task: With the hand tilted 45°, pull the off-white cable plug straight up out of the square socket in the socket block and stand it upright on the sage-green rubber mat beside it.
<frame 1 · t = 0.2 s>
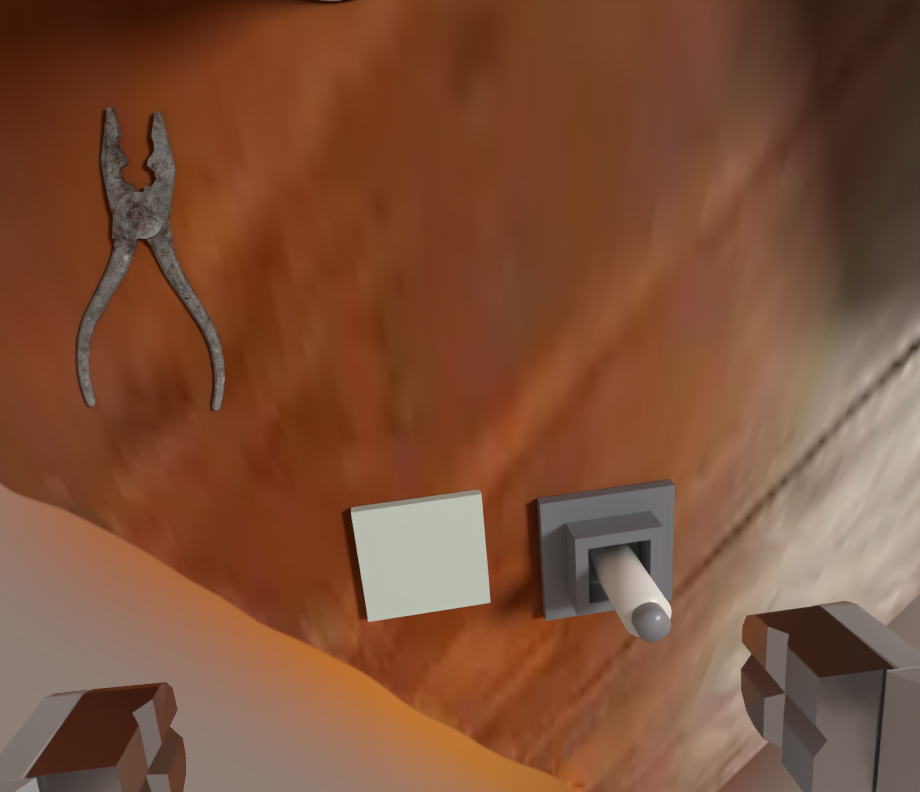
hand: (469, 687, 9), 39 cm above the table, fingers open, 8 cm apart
sage mat: (422, 553, 53), on the table
pliers: (129, 275, 44), on the table
socket block: (604, 547, 55), on the table
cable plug: (608, 554, 54), point 1 cm above the table, touching socket block
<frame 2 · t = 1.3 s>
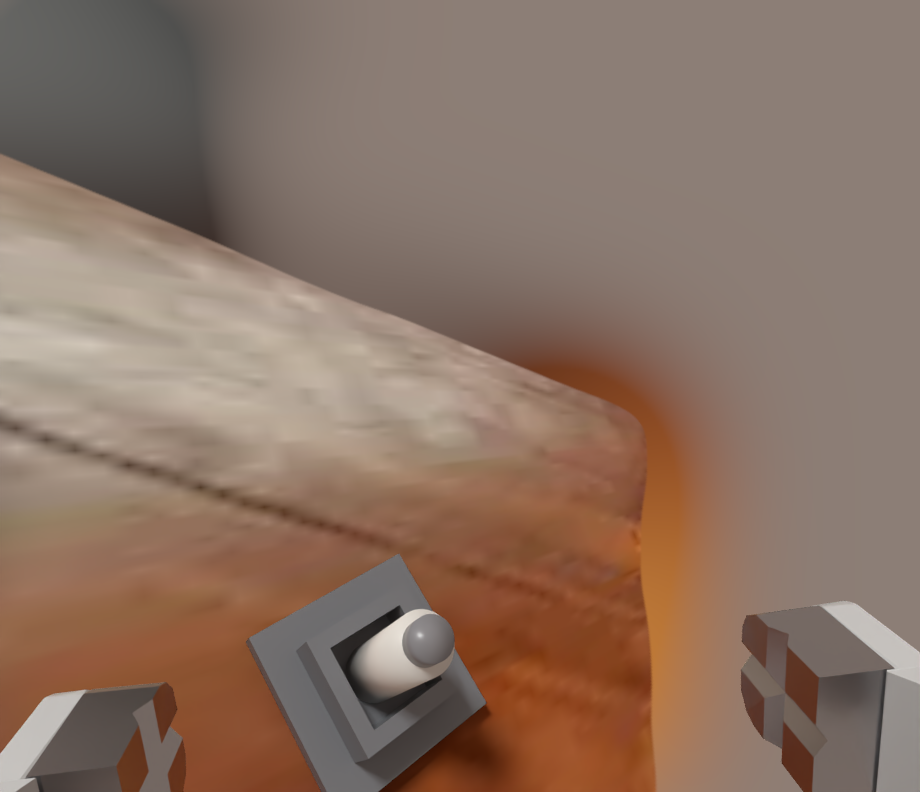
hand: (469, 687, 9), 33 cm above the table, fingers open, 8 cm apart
socket block: (368, 675, 41), on the table
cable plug: (373, 672, 41), point 1 cm above the table, touching socket block
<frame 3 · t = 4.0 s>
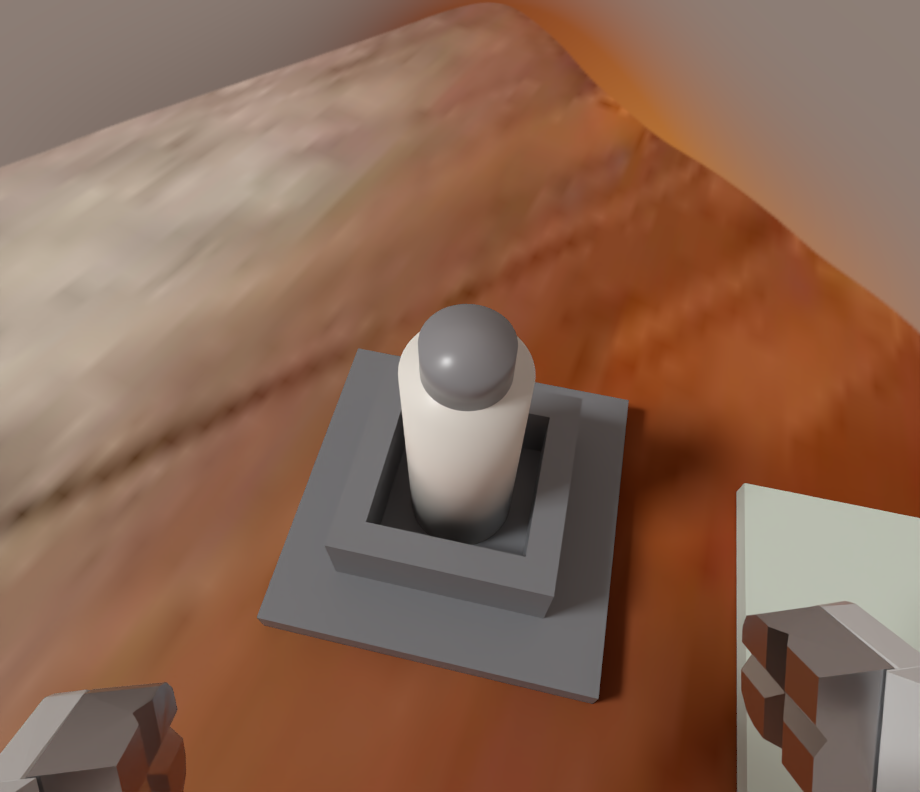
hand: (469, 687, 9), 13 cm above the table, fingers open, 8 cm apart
sage mat: (891, 659, 22), on the table
socket block: (460, 509, 25), on the table
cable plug: (460, 498, 24), point 1 cm above the table, touching socket block
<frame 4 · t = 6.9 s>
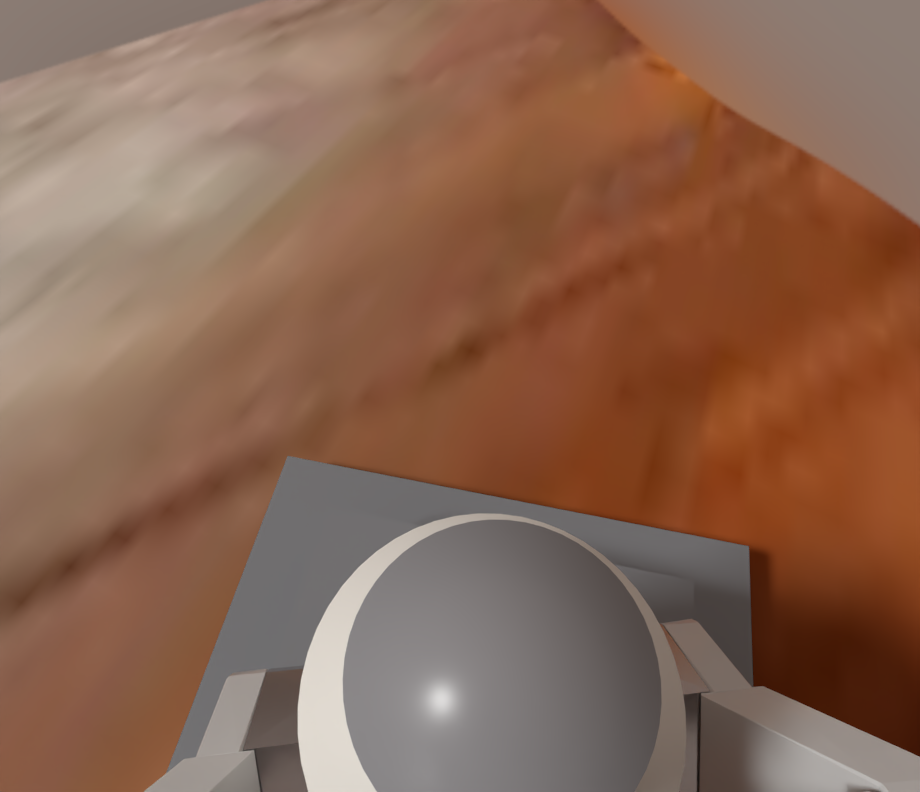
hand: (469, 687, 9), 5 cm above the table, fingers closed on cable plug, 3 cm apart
socket block: (464, 763, 14), on the table
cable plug: (466, 759, 13), point 1 cm above the table, touching socket block, gripper
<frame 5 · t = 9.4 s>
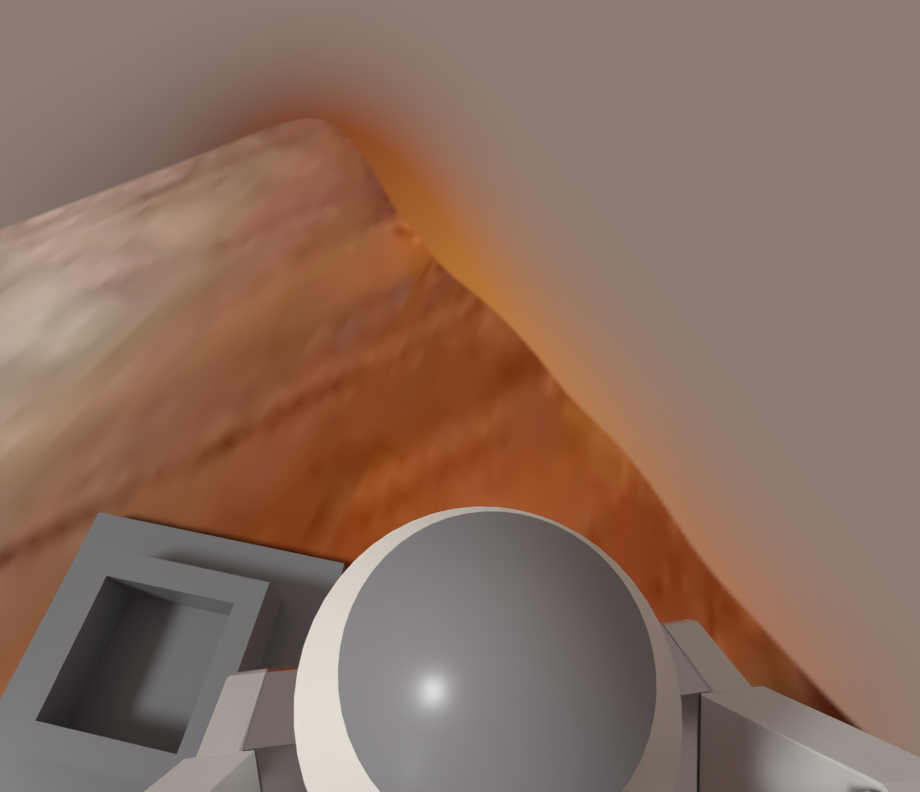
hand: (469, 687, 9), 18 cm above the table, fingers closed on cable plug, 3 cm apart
socket block: (172, 676, 26), on the table
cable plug: (464, 755, 13), point 14 cm above the table, touching gripper
when the fingers open (7 cm above the table, at t = 12.3 s): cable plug drops 1 cm, resting on sage mat.
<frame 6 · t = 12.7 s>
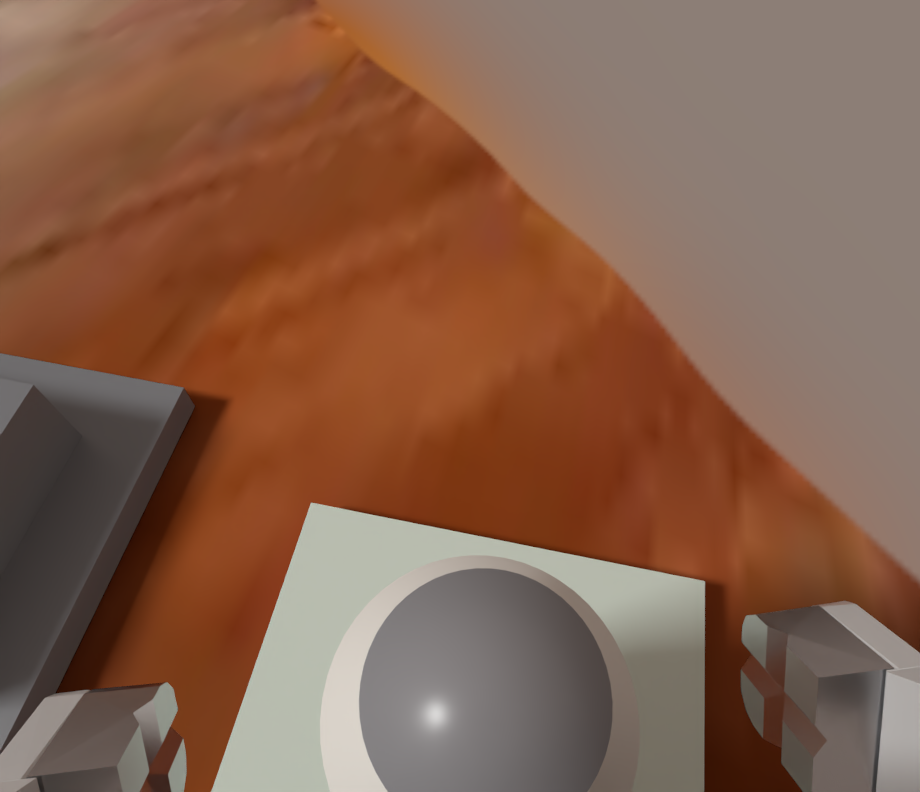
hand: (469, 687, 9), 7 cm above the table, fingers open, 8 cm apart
sage mat: (463, 766, 15), on the table
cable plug: (462, 761, 14), point 1 cm above the table, touching sage mat
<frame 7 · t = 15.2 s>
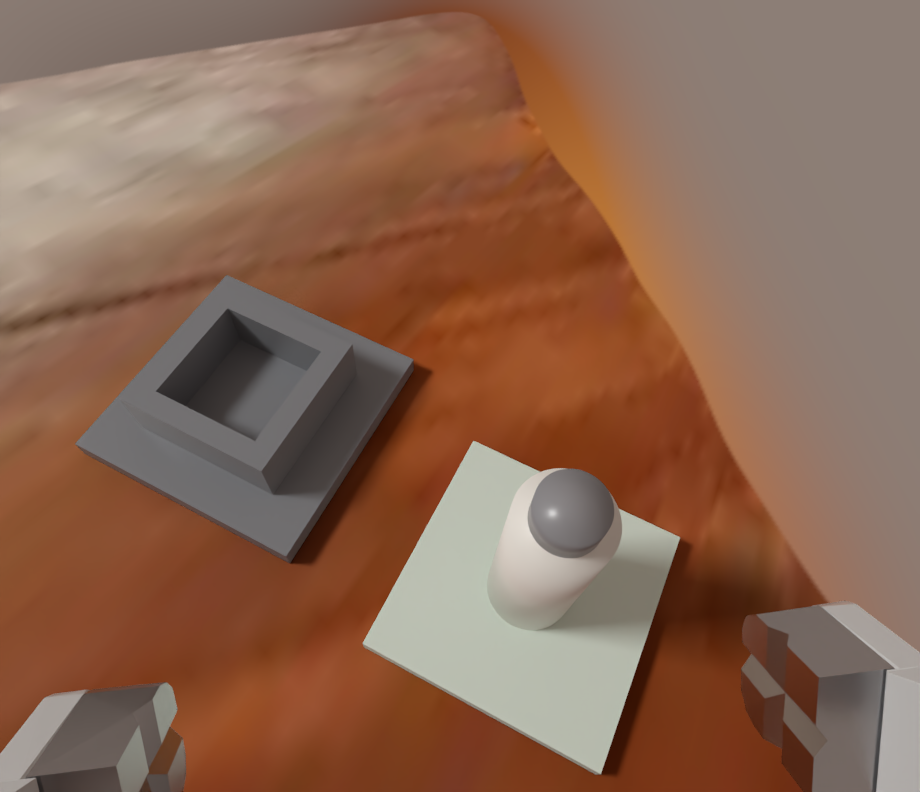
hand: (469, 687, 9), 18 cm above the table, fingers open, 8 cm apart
sage mat: (526, 592, 28), on the table
socket block: (257, 409, 32), on the table
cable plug: (529, 586, 28), point 1 cm above the table, touching sage mat
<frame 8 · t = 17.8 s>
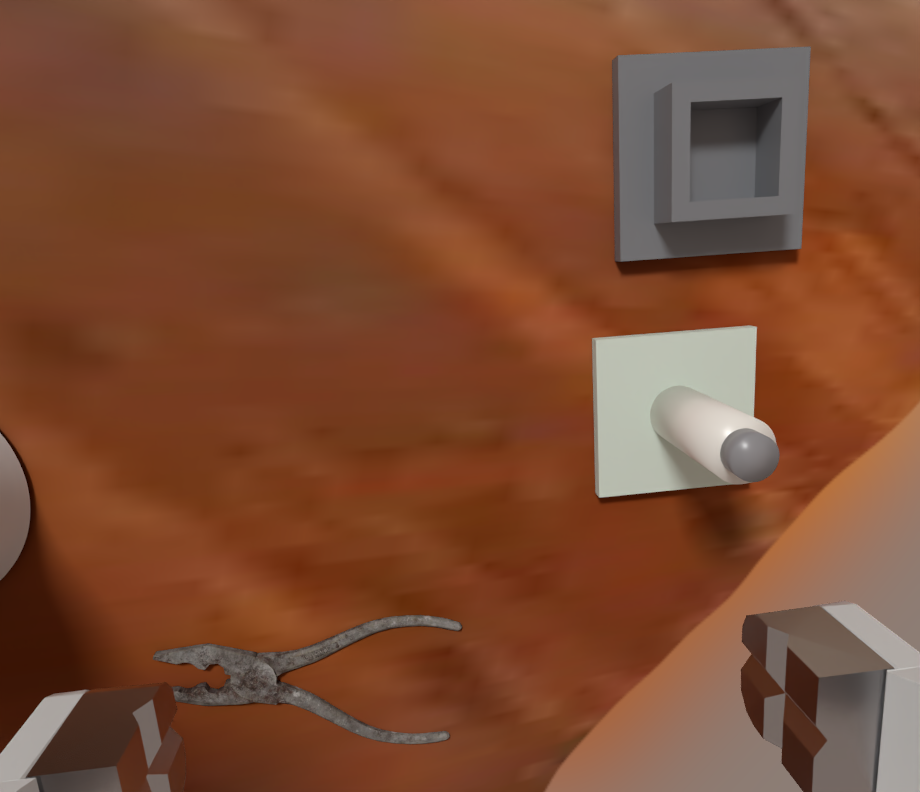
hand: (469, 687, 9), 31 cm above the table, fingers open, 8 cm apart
sage mat: (671, 410, 42), on the table
pliers: (317, 688, 45), on the table
socket block: (705, 158, 39), on the table
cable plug: (677, 413, 41), point 1 cm above the table, touching sage mat
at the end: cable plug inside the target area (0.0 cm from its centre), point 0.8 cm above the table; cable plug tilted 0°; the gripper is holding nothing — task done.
